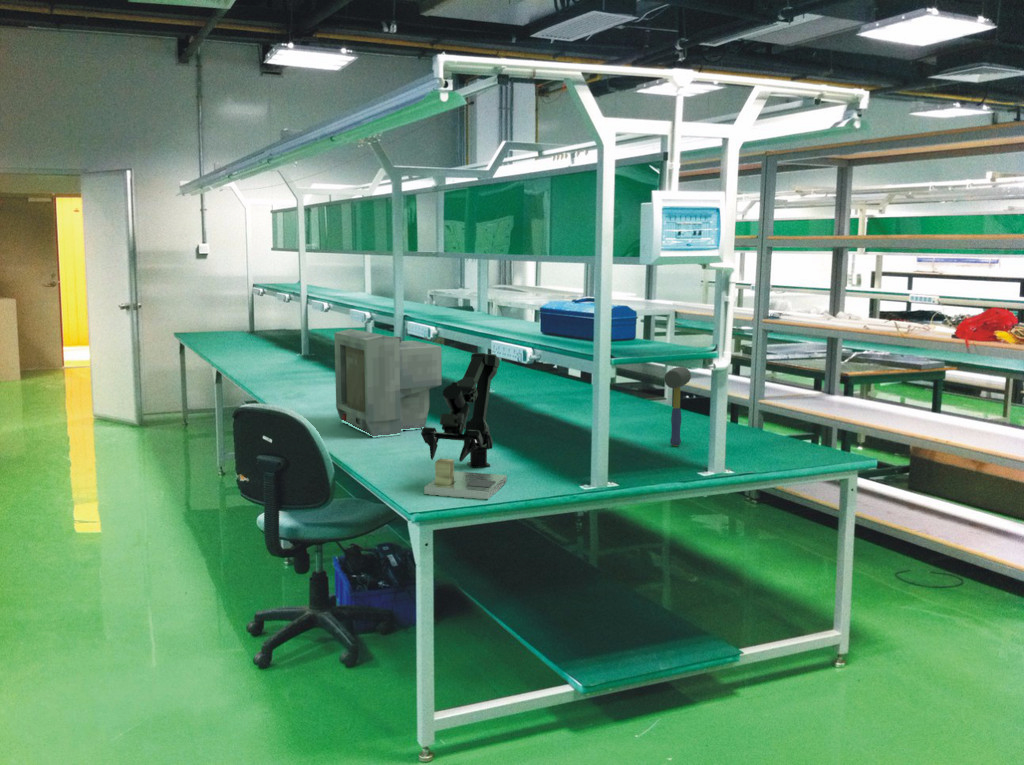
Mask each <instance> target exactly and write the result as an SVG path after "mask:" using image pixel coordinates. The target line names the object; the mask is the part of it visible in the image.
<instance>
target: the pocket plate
mask: <svg viewBox="0 0 1024 765" xmlns="http://www.w3.org/2000/svg"><path fill="white" fill-rule="evenodd" d="M507 479H508V476H507V474H496V473H495V474H494V473H481V472H467V471H455V470H454V483H453V484H452V485H451V486H445V485H435V478H434V479H433V480H431V481H430V482H429V483H427V484H426V485H425V486H424V490H423V491H424V493H423V494H429V495H428V496H435V495H439V497H447V496H450V497H449V498H460V497H464V498H463V499H472V498H476V500H484V499H489V498H490V497H491V496H492V495H493V494H494V493H495V494H496V493H498V492H499V491H500V490H501V489H502V488H503V487H504V486H505V485H506V484H507V483H506V482H508V480H507ZM505 483H506V484H505ZM504 484H505V485H504ZM503 485H504V486H503ZM502 486H503V487H502ZM501 487H502V488H501ZM500 488H501V489H500ZM495 494H494V495H495ZM494 495H493V496H494ZM493 496H492V497H493ZM492 497H491V498H492ZM491 498H490V499H491ZM490 499H489V500H490Z"/></svg>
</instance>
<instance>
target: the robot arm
mask: <svg viewBox="0 0 1024 765" xmlns="http://www.w3.org/2000/svg"><path fill="white" fill-rule="evenodd" d="M499 367H500V358H499V357H498V356H497V354H495V353H494V354H493V353H492V354H491V353H484V352H473V353H471V356H470V362H469V364H468V366H467V368H466V371H465V372H464V375H463V377H462V378H461V379H459V380H457V381H452V382H451V384H450V385H447V386H446V387H445V388H444V389H443V391H442V396H443V398H444V401H445V402H446V406H447V408H449V409H450V411H449V413H441V414H440V420H439V424H440V425H441V429H442V431H444V432H441V431H440V432H439V431H437V429H436V427H428V426H425V427H424V428H423V429H421V432H420V435H421V437H422V439H423V441H424V443H425V444H427V445H428V446H429V455H430V460H432V461H433V460H434V458H435V456H436V452H437V448H438V442H439V440H450V441H461V442H463V446H462V449H461V452H460V456H459V460H458V461H459V463H462V462H463V460H465V458H467V456H468V455H470V456H469V457H470V458H469V461H467V462H466V464H467V465H468V466H469V465H470V466H469V467H471V468H473V469H474V468H484V467H491V464H490V463H489V462H488V450H491V449H493V442H494V441H493V438H492V436H491V433H490V427H489V424H488V423H487V415H488V414H487V413H488V405H489V400H490V399H489V398H490V393H491V392H490V391H491V384H492V380H493V379H494V377H495V376H496V375H497V374H498V368H499ZM469 404H473V410H472V416H471V419H470V420H467V419H468V415H470V405H469Z"/></svg>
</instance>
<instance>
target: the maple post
mask: <svg viewBox="0 0 1024 765" xmlns="http://www.w3.org/2000/svg"><path fill="white" fill-rule="evenodd" d="M434 468H435V469H434V470H435V474H434V477H435V478H434V479H435V485H445V486H451V485H452V484H453V483H454V471H455V459H453V458H452V459H450V458H439V459H437V460H436V461H435V466H434Z"/></svg>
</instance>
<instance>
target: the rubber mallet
mask: <svg viewBox="0 0 1024 765" xmlns="http://www.w3.org/2000/svg"><path fill="white" fill-rule="evenodd" d="M691 377H692V374H691V371H690V370H689V369H688V368H687V367H685V366H678V367H674V368H671V369H670V370H668V371H666V373H665V374H664V378H663V380H664V383H665V385H666V386H667V387H668V388H670V389H673V400H672V401H673V402H672V409H671V415H670V416H671V418H670V423H671V436H670V440H669V441H670V442H669V443H670V444H671V445H670V446H672V445H673V447H679V446H680V445H681V444H682V443H681V442H682V440H681V426H682V409H681V387H684V386H685V385H687V384H688V383H690V380H691ZM678 445H679V446H678Z"/></svg>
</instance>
